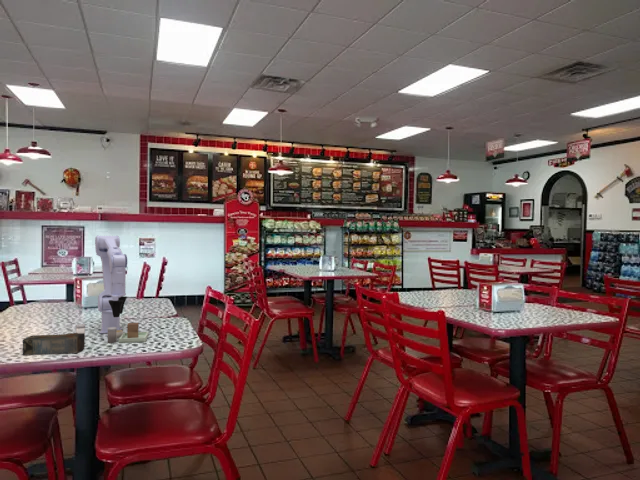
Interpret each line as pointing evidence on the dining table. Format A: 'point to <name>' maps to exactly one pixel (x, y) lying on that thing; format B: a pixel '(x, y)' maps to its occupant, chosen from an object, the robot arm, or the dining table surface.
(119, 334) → the sauce cup
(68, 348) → the beverage carton
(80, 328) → the salt shaker
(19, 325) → the dining table surface
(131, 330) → the walnut block
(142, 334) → the basket tray
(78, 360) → the dining table surface
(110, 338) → the pepper shaker
